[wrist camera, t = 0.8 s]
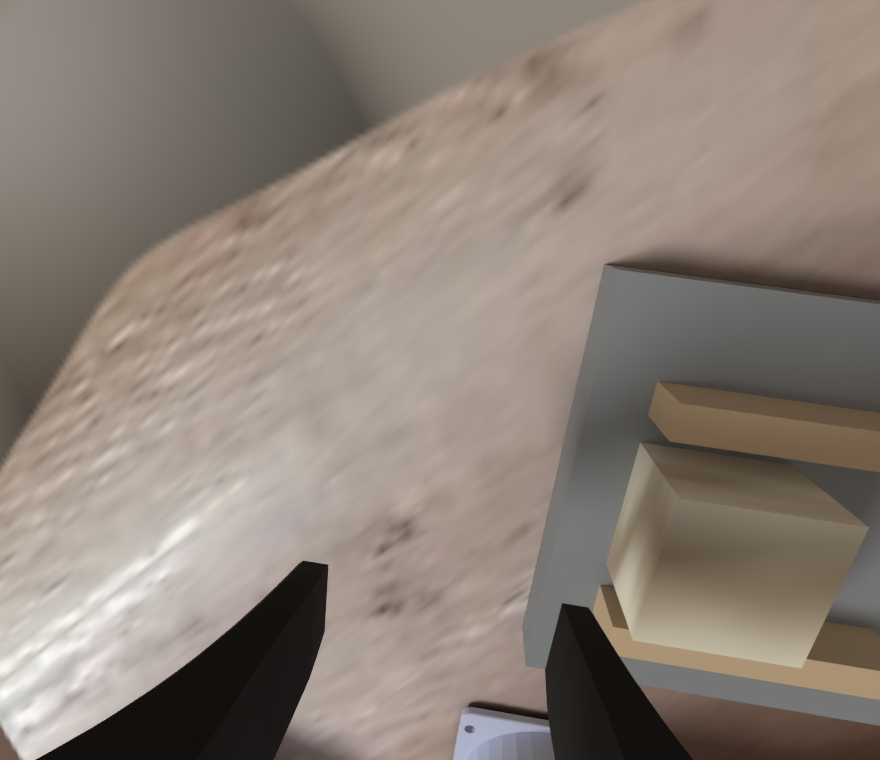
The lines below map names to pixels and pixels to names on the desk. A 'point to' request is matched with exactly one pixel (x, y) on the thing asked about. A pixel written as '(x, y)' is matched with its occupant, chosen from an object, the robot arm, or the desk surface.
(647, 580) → the wooden block
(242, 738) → the robot arm
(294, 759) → the desk surface
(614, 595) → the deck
